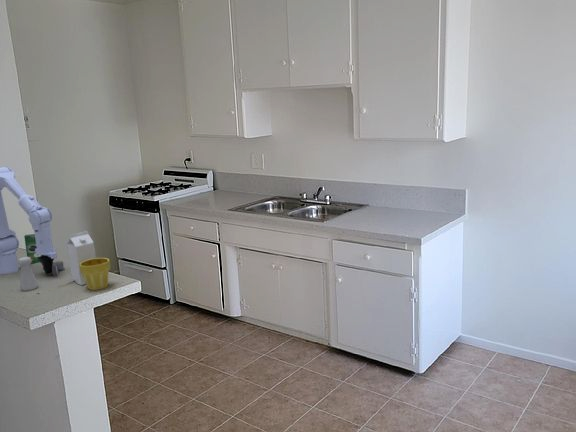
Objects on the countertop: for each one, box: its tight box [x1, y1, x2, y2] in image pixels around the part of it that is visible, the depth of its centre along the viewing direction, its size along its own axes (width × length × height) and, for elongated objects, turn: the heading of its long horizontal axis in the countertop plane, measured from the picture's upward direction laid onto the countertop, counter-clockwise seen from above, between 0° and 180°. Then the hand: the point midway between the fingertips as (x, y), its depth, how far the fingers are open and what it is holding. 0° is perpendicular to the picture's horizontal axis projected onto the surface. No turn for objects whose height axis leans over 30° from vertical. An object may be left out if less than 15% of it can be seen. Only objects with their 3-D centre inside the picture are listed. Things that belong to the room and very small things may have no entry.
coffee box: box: [23, 233, 42, 265], centre depth 234 cm, size 8×3×13 cm, turn 110°
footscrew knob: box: [52, 260, 65, 277], centre depth 214 cm, size 11×5×4 cm, turn 17°
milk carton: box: [66, 230, 97, 286], centre depth 203 cm, size 7×7×19 cm
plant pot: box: [79, 257, 111, 291], centre depth 196 cm, size 10×10×10 cm
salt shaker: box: [17, 256, 39, 292], centre depth 195 cm, size 6×6×13 cm
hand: (48, 273), depth 211 cm, fingers closed
